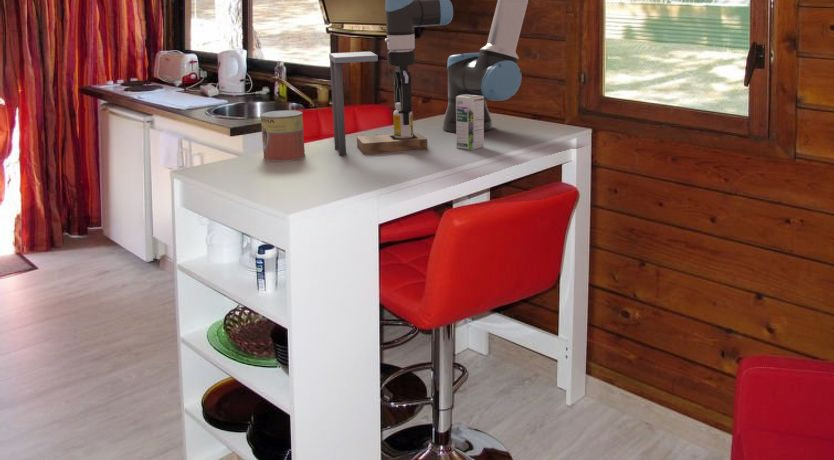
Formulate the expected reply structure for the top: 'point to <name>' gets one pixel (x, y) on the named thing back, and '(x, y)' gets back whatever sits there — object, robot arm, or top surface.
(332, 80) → the grey l-shaped post
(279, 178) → the top surface
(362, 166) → the top surface
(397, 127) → the supplement bottle
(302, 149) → the canned food
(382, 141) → the socket block
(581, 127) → the top surface
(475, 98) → the syrup box
